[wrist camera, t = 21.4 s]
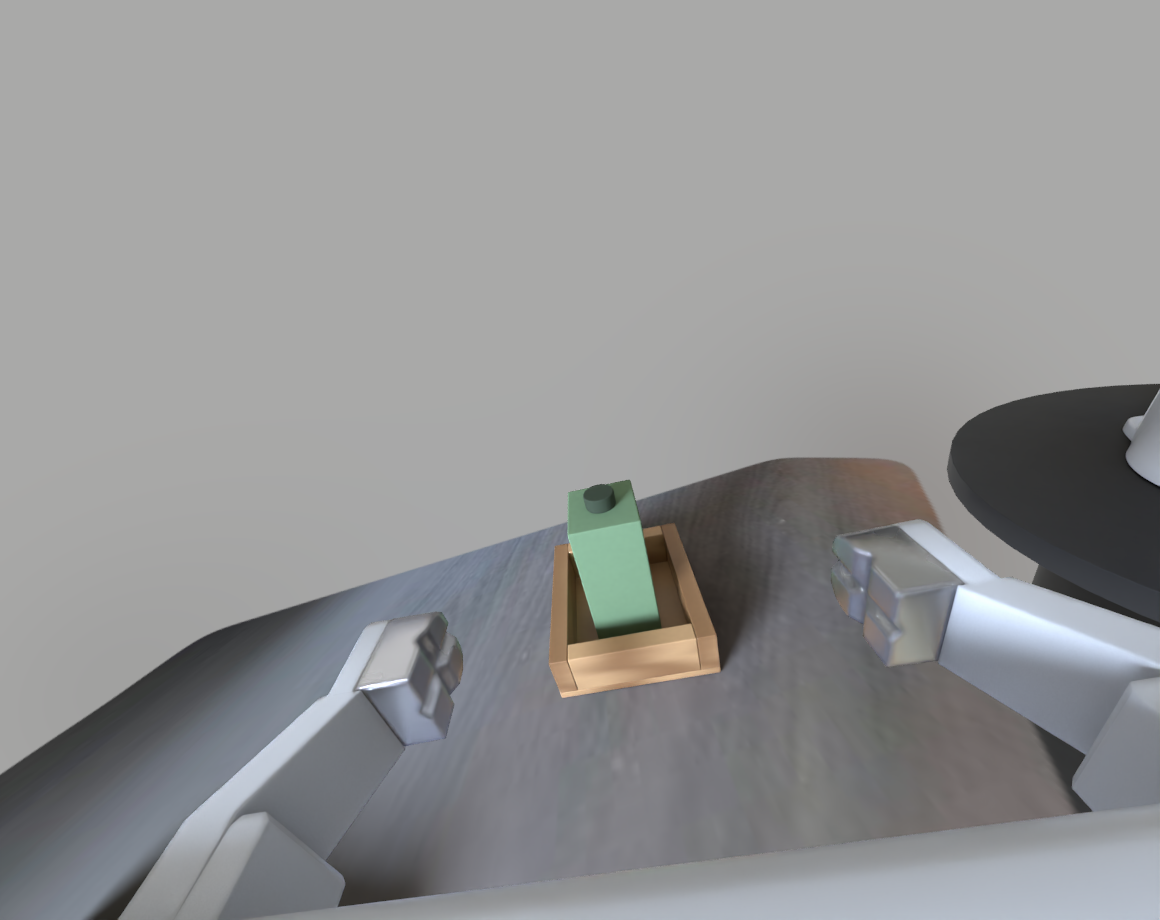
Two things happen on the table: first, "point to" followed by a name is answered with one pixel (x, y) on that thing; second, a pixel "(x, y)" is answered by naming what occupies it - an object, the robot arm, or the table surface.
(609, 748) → the table surface
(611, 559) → the green carton with cap
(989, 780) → the table surface
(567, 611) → the wooden tray
